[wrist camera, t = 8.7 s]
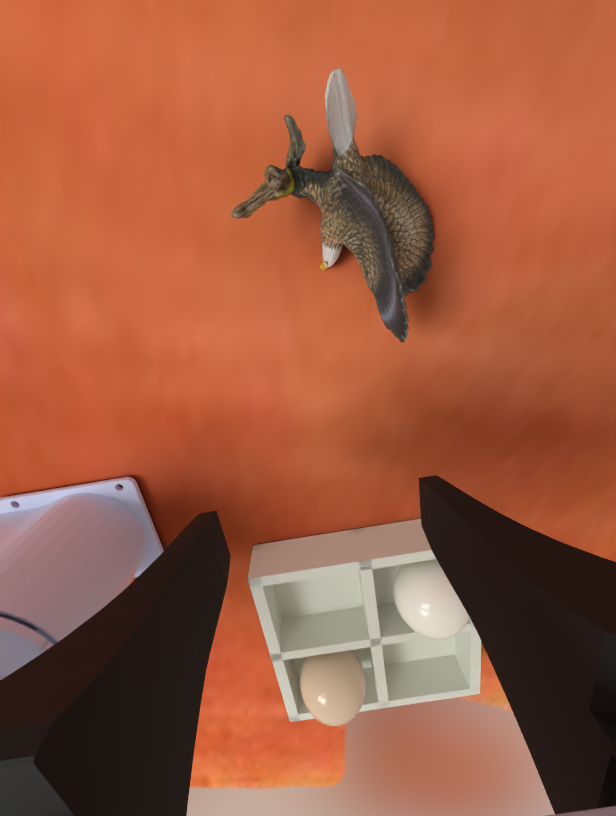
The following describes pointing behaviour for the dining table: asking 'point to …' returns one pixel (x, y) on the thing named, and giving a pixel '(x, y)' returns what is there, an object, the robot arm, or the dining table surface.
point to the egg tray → (356, 616)
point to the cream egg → (428, 600)
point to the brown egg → (333, 686)
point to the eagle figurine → (358, 208)
